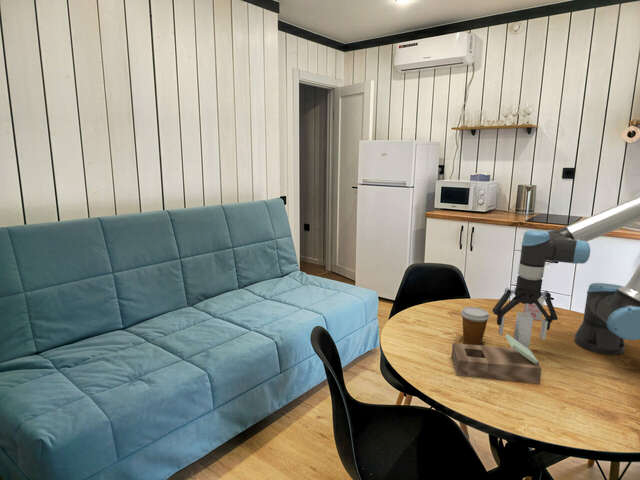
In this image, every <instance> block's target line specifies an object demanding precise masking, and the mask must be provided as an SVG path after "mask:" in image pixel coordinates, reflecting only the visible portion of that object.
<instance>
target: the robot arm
mask: <svg viewBox="0 0 640 480" xmlns="http://www.w3.org/2000/svg"><path fill="white" fill-rule="evenodd" d="M636 222H640V195H638V196H635V197H632V198H630V199H628V200H626V201H623V202H621V203H619V204H615V205H614V206H611V207H610V208H606V209H605V210H602V211H600V212H598V213H594V214H593V215H591V216H588V217H586V218H583V219H581V220H578V221H575V222H574V223H571V224H569V225H567V226H565V227H562V228H559V229H557V230H554V229H552V230H551V229H549V230H546V231H543V230H538V229H537V230H536V229H529V230H526V231H524V234H523V237H522V242H521V249H520V259H519V263H518V272H517V276H516V277H517V278H516V282H515V283H516V285H515V288H514V289H512V288H509V287H505V289H504V293H503V295H501V297H500V298H499V300H498V302H497V303H496V304H495V306H494V307H493V308H492V313H493V315H496V316H497V317H496V324H497V326H498V334H499V336H503V335H504V327H505V320H506V317H505V315H506V314H507V313H508V312H509V311H511V310H512V309H513V308H515V307H516V306H517V305H519V304H523V305H524V304H533V303H535V304H536V306H537V307H538V308H539V310H540V311H541V313H542V316H543V317H544V318H542V319H541V326H540V327H541V328H540V333H539V337H540V338H541V340H542V341H543V340H544V341H545V340H546V335H547V331H549V330H550V328H551V323H553V321H558V315H557V313H556V310H555V308H554V305H553V302H552V295H551V292H549V291H547V290H545V291H542V286H543V279H542V278H543V277H544V274H545V273H544V272H545V266H546V262H555V263H556V262H557V263H567V264H573V265H575V264H579V265H580V264H582V265H583V264H586V263H587V262H588V260H589V259H590V256H591V246H590V244H589V242H590V241H592V240H595V239H597V238H600V237H603V236H604V235H605V236H606V235H607V234H610V233H612V232H614V231H617V230H619V229H622V228H625V227H628V226H629V225H631V224H635V223H636ZM512 295H514V296H513V297H512V299H511V300H510V301H509V302H507V301H508V300H509V299H510V297H511V296H512ZM540 297H543V298H544V301H545V304H546V306H547V309H548V311H549V314H550V315H549V314H548V312H547V311H546V310H545V308H544V306H543V307H542V306H541V304H540V303H539V301H538V299H539V298H540ZM625 340H627V341H636V340H640V264H639V266H637V268H636V269H635V272H634V273H633V275H632V276H631V278H630V279H629V281H628V282H627V284H626V285H625V286H623V285H620V284H612V283H603V282H593V283H590V284H589V286H588V288H587V291H586V301H585V307H584V313H583V320H582V322H581V324H580V325H579V327H578V329H577V331H576V332H575V334H574V339H573V341H574V342H575V344H576V345H578V346H579V347H581V348H583V349H585V350H588V351H590V352H593V353H597V354H601V355H606V354H607V356H619V355H618V354H620V355H622V354H624V352H625V347H626V346H625V345H626V343H625Z"/></svg>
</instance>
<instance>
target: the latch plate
mask: <svg viewBox="0 0 640 480" xmlns="http://www.w3.org/2000/svg"><path fill="white" fill-rule="evenodd" d="M504 337H505V339H506V341H507V342H508V343H509V345H510V348H513V349H515V350H516V351H518V352H519V353H521V354H522V355H523V356H525V357H526V358H528V359H529V360H530V361H532V362H533V363H535V364H536V365H540V363H539V361H538V359H537V358H536V356H535V355H534V354H533V352H532V350H531V349H530V348H529V349H528V348H526V347H525V346H524V345H522V344H521V343H519V342H518V341H517V340H515V339H514V337H512V336H511V335H510V334H508V333H506V334H505V335H504Z"/></svg>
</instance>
